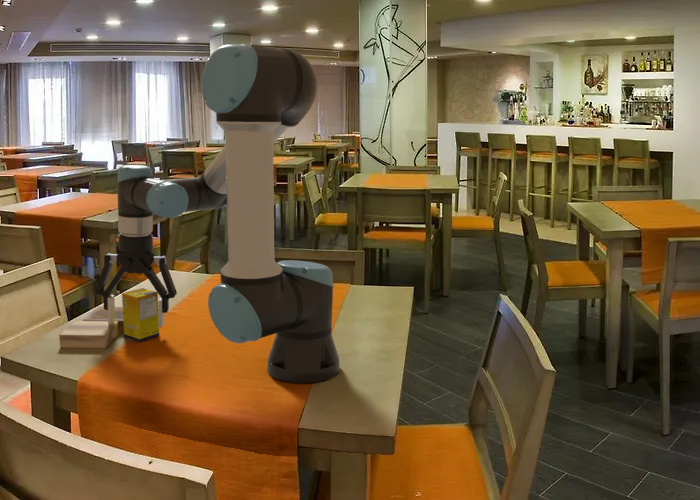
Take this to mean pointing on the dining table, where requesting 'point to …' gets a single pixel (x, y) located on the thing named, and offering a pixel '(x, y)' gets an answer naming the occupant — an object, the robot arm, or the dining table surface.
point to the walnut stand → (102, 315)
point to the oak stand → (88, 334)
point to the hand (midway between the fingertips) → (136, 324)
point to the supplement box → (140, 314)
